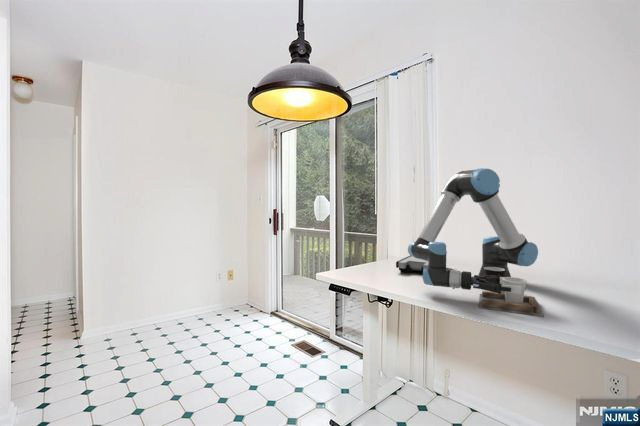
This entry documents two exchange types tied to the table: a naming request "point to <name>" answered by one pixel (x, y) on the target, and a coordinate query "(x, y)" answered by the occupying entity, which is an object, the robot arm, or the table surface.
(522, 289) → the dixie cup
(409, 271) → the game console
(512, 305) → the tray with wooden rails
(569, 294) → the table surface
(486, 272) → the coffee mug
